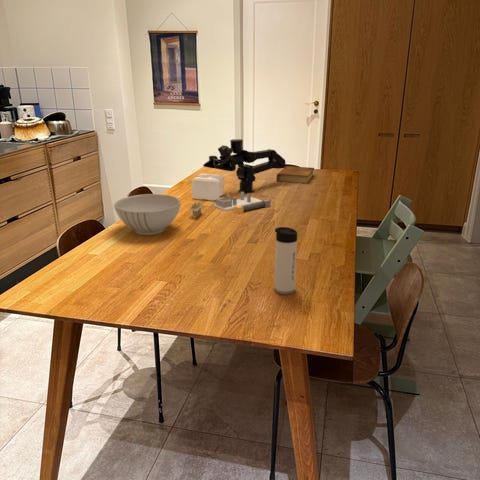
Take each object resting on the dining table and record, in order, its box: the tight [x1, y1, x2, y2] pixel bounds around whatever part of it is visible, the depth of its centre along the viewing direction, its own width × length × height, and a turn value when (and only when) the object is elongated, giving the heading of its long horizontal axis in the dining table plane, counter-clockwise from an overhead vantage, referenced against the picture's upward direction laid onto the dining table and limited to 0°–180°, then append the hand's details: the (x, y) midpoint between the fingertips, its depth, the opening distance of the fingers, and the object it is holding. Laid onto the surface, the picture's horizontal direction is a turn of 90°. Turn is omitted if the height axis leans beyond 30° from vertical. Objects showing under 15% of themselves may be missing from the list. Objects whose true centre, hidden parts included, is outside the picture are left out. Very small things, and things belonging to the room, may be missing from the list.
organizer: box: [190, 173, 225, 202], centre depth 237 cm, size 15×11×12 cm
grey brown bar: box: [233, 199, 271, 215], centre depth 219 cm, size 20×3×3 cm, turn 128°
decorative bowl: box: [113, 193, 182, 236], centre depth 190 cm, size 27×27×12 cm
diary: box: [276, 165, 315, 185], centre depth 279 cm, size 23×19×6 cm
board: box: [213, 191, 263, 212], centre depth 227 cm, size 23×10×5 cm, turn 128°
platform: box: [189, 201, 204, 219], centre depth 209 cm, size 12×18×7 cm, turn 168°
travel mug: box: [273, 226, 298, 295], centre depth 137 cm, size 6×7×20 cm
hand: (209, 166), depth 229 cm, fingers open, 9 cm apart
